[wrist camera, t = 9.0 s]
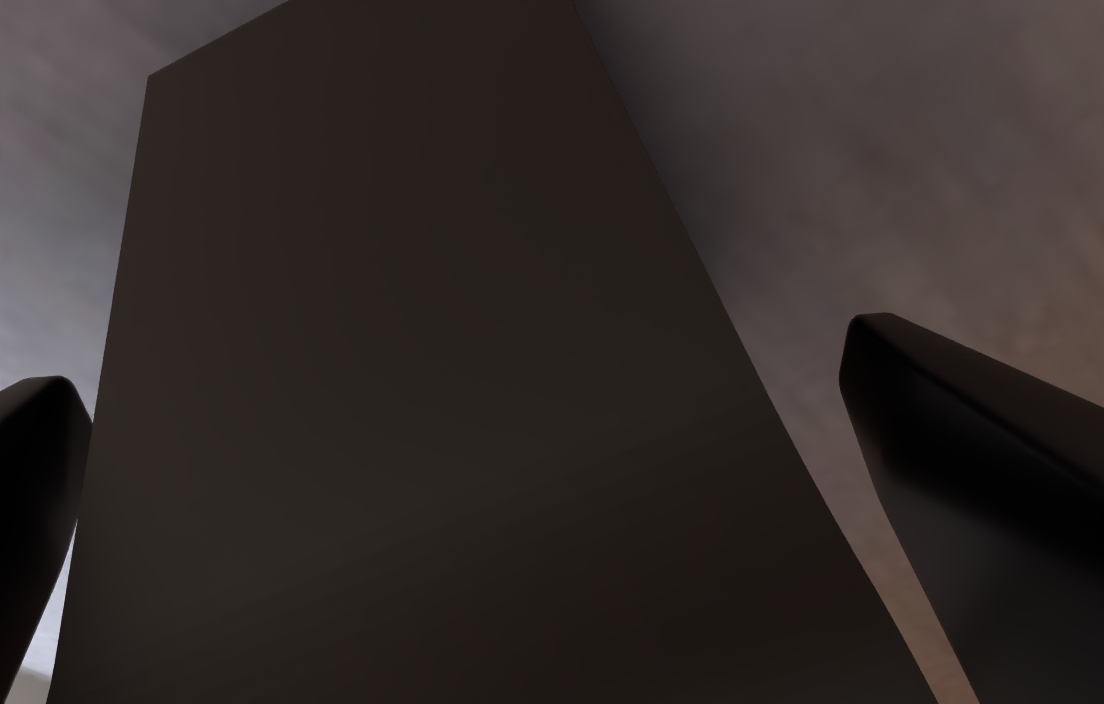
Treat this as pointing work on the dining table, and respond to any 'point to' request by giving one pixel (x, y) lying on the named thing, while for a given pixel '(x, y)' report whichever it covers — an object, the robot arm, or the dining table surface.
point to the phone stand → (437, 399)
